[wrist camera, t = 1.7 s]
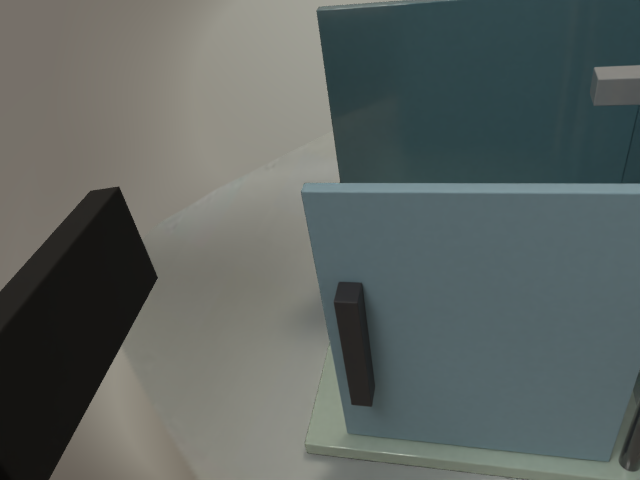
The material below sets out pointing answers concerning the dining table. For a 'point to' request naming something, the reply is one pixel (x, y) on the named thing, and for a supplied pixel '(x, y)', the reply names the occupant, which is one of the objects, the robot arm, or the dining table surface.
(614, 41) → the shower
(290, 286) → the dining table surface
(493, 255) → the shower door
